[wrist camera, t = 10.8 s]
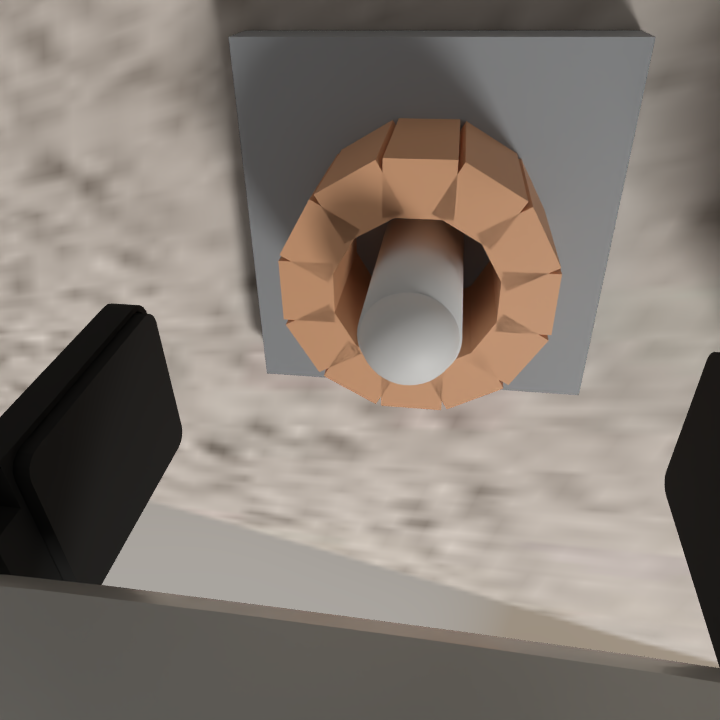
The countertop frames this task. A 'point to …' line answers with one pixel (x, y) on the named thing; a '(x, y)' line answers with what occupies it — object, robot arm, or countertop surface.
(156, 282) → the countertop surface
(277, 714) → the robot arm
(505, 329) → the ring
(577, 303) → the post block
